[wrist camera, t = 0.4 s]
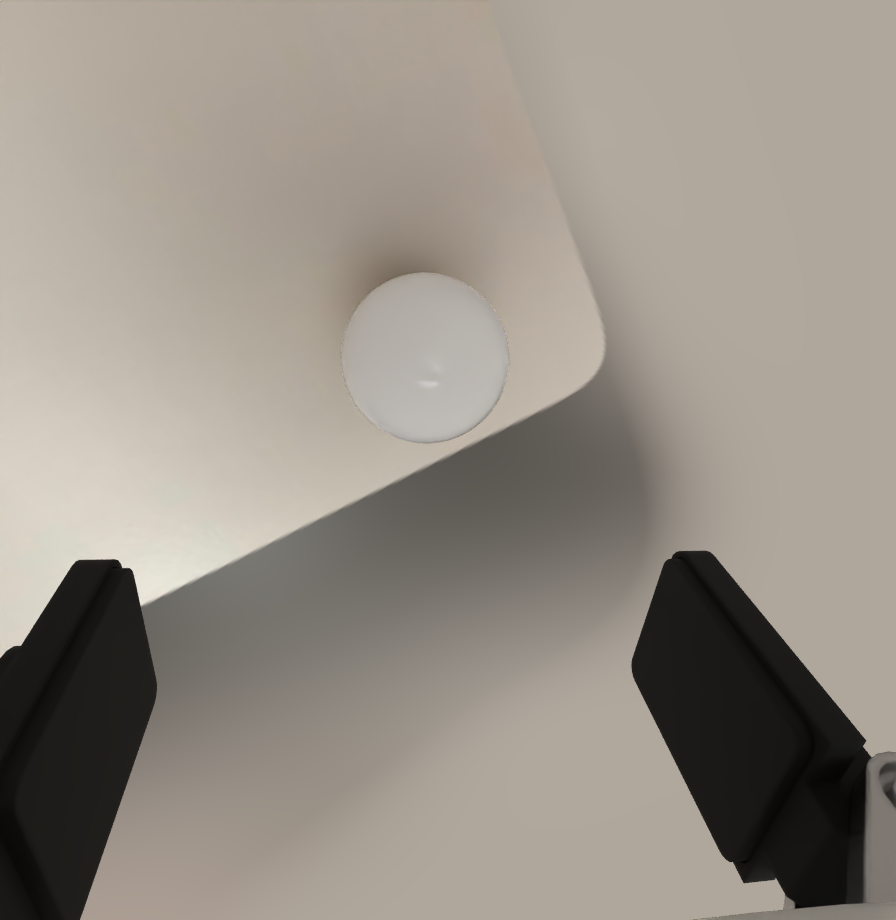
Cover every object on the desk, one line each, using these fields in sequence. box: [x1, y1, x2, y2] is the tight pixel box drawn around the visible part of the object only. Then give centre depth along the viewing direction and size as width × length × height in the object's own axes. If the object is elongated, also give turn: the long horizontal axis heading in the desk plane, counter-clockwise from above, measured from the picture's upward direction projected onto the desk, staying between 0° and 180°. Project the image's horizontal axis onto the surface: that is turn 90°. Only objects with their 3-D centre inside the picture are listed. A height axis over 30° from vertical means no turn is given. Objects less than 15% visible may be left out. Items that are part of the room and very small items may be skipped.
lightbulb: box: [341, 272, 509, 443], centre depth 25 cm, size 6×6×11 cm
